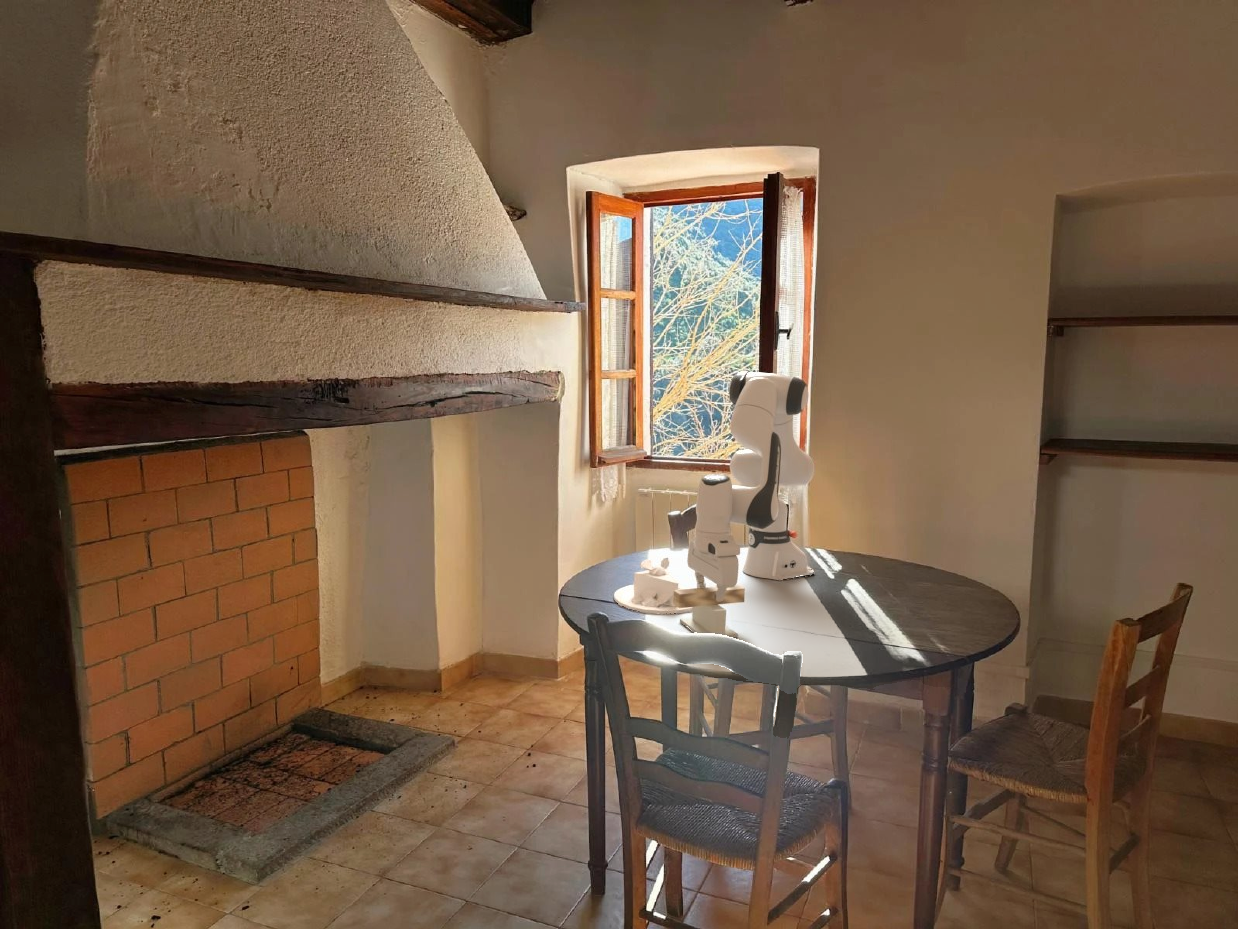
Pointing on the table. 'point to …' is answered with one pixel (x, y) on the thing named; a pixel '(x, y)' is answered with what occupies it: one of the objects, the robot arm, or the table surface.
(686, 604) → the beech bar
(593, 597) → the table surface
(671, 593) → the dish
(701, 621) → the ridge block
